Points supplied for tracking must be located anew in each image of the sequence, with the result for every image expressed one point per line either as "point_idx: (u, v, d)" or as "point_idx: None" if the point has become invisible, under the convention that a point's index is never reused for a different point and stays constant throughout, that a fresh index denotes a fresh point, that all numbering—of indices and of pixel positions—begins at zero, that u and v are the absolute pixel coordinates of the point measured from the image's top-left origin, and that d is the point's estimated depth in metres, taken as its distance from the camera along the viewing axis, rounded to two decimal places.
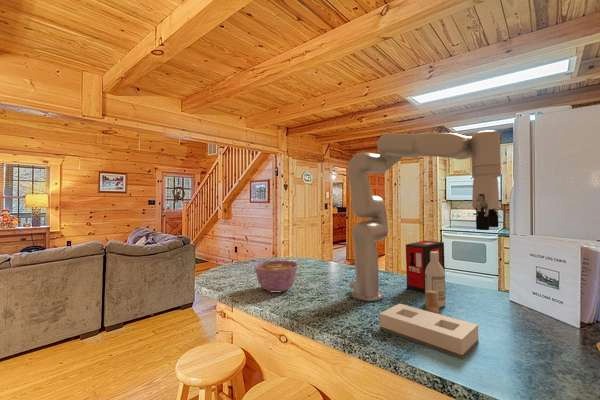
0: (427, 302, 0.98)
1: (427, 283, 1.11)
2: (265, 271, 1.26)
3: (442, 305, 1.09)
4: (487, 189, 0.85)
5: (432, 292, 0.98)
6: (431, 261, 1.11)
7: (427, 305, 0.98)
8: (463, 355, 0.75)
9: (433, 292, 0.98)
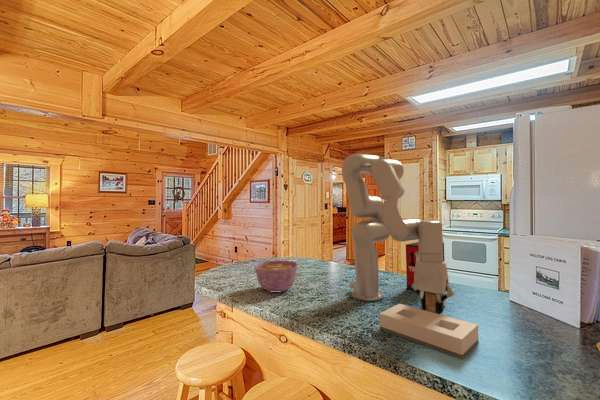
0: (427, 302, 0.98)
1: None
2: (265, 271, 1.26)
3: None
4: (447, 274, 0.96)
5: None
6: None
7: (427, 305, 0.98)
8: (463, 355, 0.75)
9: None
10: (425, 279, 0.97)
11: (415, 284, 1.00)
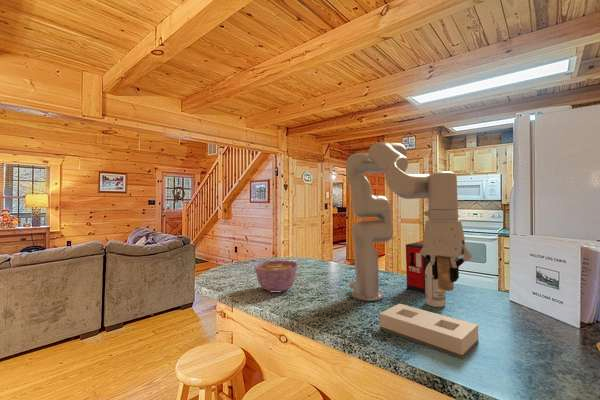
0: (439, 268, 0.83)
1: (427, 283, 1.11)
2: (265, 271, 1.26)
3: (442, 305, 1.09)
4: (463, 234, 0.81)
5: (445, 257, 0.83)
6: None
7: (439, 272, 0.83)
8: (463, 355, 0.75)
9: (446, 257, 0.83)
10: (437, 241, 0.82)
11: (425, 248, 0.85)
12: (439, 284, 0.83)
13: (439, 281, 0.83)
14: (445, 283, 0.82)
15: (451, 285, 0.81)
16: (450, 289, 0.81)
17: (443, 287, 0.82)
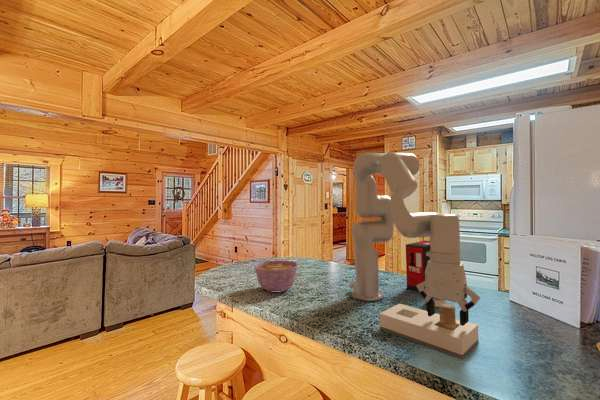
0: (442, 319, 0.82)
1: None
2: (265, 271, 1.26)
3: None
4: (465, 278, 0.80)
5: (448, 307, 0.82)
6: None
7: (442, 322, 0.82)
8: (463, 355, 0.75)
9: (448, 307, 0.82)
10: (439, 284, 0.81)
11: (426, 290, 0.84)
12: None
13: None
14: None
15: None
16: None
17: None
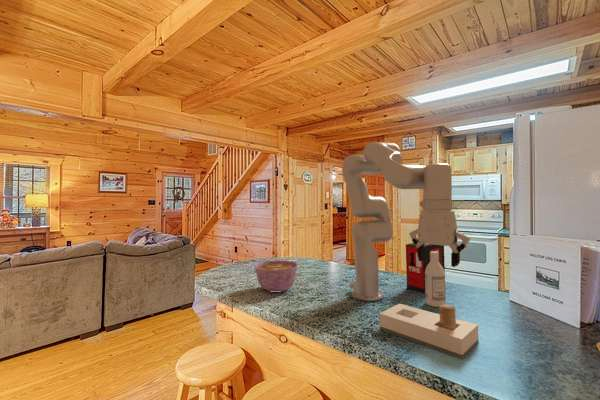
0: (442, 319, 0.82)
1: (427, 283, 1.11)
2: (265, 271, 1.26)
3: None
4: (456, 224, 0.84)
5: (448, 307, 0.82)
6: (431, 261, 1.11)
7: (442, 323, 0.82)
8: (463, 355, 0.75)
9: (448, 307, 0.82)
10: (430, 230, 0.86)
11: (419, 237, 0.89)
12: None
13: None
14: None
15: None
16: None
17: None
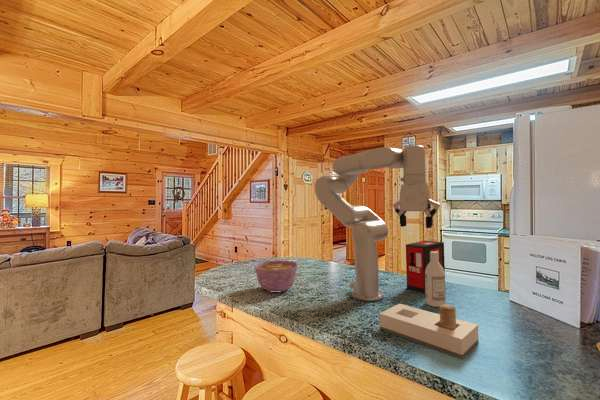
0: (442, 319, 0.82)
1: (427, 283, 1.11)
2: (265, 271, 1.26)
3: None
4: (429, 194, 1.04)
5: (448, 307, 0.82)
6: (431, 261, 1.11)
7: (442, 323, 0.82)
8: (463, 355, 0.75)
9: (449, 307, 0.82)
10: (409, 199, 1.05)
11: (400, 206, 1.08)
12: None
13: None
14: None
15: None
16: None
17: None
